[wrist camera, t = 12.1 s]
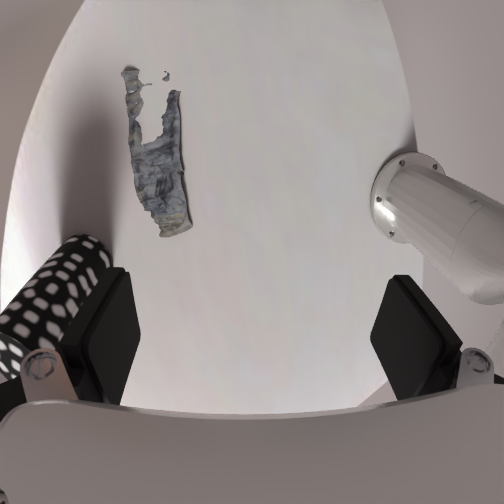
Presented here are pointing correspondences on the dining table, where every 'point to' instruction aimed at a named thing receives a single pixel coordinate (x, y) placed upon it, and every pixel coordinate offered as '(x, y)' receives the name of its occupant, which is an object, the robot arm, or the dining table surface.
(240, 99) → the dining table surface
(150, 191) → the driftwood
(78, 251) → the white-spotted black cylinder
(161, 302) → the dining table surface
